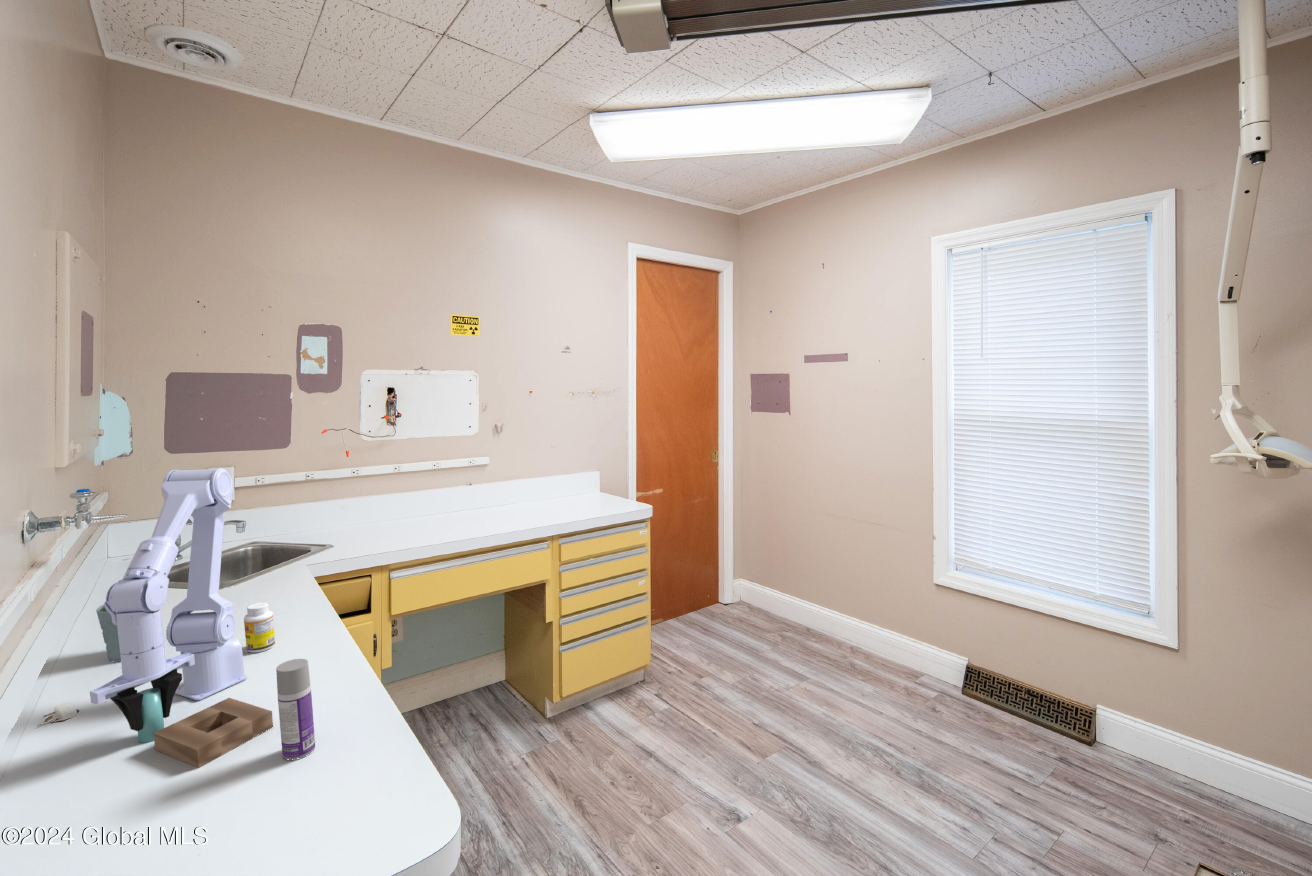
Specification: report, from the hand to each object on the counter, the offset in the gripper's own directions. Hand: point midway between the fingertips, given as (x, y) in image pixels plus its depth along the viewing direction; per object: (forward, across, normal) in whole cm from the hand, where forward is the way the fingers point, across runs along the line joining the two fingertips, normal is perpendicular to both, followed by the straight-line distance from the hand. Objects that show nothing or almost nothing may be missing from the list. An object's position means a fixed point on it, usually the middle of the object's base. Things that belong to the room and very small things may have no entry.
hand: (150, 722), depth 104 cm
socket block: (+3, -4, +11) cm, 12 cm away
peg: (+3, 0, 0) cm, 3 cm away
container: (+3, -6, +28) cm, 29 cm away
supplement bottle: (+3, -31, -16) cm, 35 cm away
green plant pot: (+3, -19, -41) cm, 45 cm away
